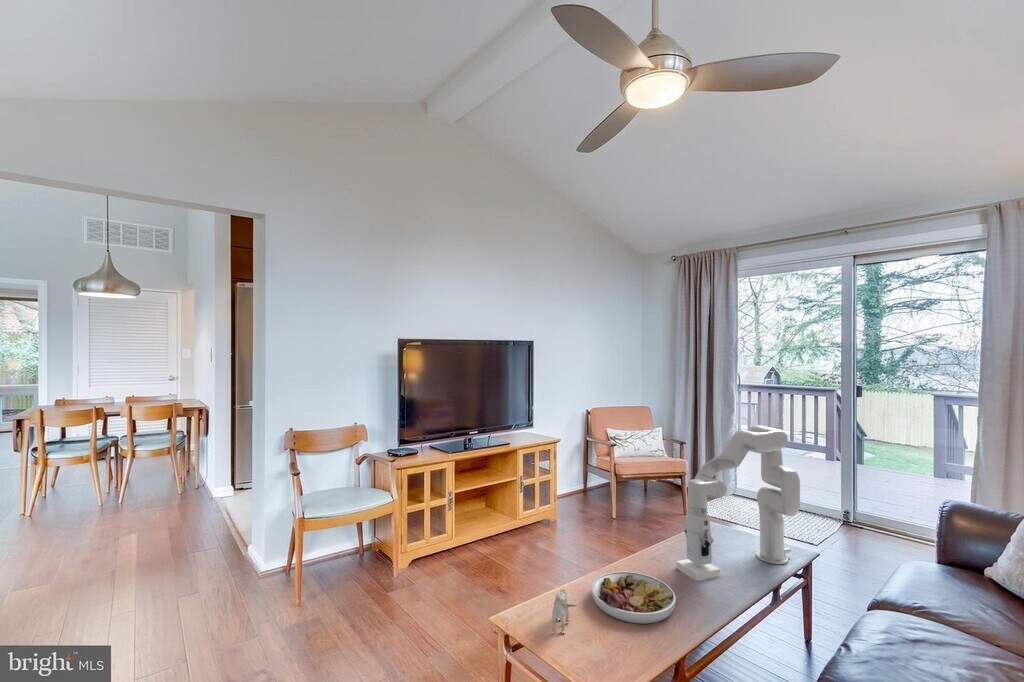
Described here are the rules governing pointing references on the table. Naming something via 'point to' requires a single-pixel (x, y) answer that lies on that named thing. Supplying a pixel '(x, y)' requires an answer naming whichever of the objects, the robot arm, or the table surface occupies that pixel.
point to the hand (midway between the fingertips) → (697, 551)
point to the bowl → (633, 597)
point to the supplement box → (696, 549)
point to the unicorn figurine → (560, 609)
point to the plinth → (697, 570)
